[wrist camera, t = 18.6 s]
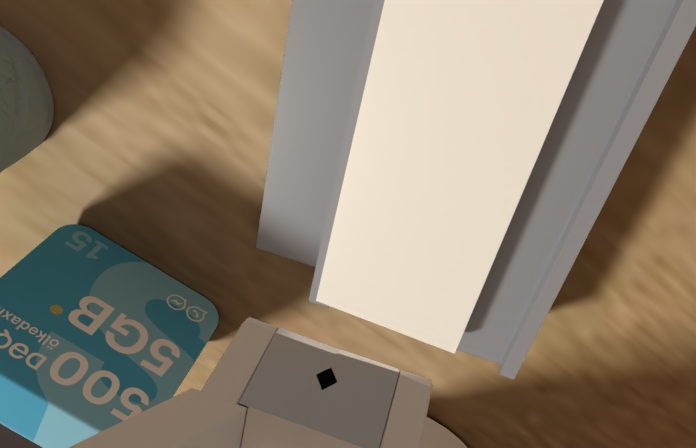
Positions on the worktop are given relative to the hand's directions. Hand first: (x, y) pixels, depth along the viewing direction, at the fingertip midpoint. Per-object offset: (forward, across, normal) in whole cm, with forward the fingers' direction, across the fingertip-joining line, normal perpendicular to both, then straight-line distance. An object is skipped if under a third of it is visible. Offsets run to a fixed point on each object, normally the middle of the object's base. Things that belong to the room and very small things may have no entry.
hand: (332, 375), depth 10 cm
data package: (+24, +16, +24) cm, 37 cm away
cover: (+19, -1, +5) cm, 20 cm away
